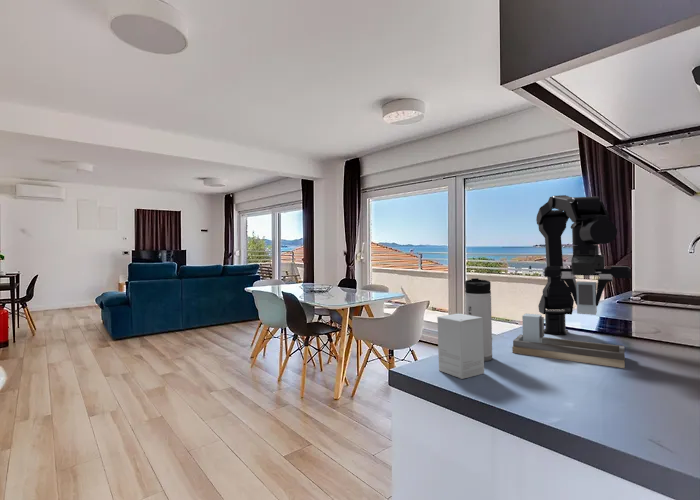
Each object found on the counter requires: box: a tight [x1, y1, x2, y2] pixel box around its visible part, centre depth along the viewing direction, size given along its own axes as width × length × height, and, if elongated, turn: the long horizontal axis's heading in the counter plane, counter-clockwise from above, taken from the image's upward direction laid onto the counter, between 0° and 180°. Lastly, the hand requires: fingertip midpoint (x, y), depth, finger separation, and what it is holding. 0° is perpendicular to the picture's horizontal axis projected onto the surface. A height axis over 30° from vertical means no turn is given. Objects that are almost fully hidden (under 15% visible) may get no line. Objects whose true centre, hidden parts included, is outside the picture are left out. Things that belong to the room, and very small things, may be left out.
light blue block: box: [576, 281, 598, 316], centre depth 97 cm, size 5×4×8 cm
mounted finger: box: [521, 313, 545, 343], centre depth 101 cm, size 4×5×8 cm
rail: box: [511, 334, 626, 369], centre depth 97 cm, size 10×24×3 cm, turn 54°
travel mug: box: [464, 277, 493, 362], centre depth 96 cm, size 6×7×20 cm
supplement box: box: [437, 313, 485, 380], centre depth 85 cm, size 7×7×13 cm
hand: (586, 305), depth 97 cm, fingers closed on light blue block, 4 cm apart
